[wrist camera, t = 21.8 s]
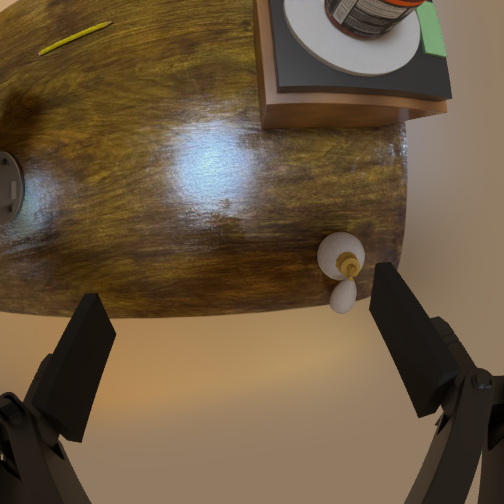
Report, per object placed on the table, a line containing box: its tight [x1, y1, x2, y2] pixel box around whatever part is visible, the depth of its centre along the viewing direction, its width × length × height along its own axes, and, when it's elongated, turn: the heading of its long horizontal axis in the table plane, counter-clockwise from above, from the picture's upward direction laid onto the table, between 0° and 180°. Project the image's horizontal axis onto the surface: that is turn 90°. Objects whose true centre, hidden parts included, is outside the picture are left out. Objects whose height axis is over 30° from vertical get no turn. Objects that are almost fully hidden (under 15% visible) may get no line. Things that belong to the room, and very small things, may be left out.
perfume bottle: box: [317, 232, 365, 314], centre depth 46 cm, size 8×10×12 cm
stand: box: [253, 0, 447, 129], centre depth 33 cm, size 18×16×22 cm
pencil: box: [39, 22, 112, 56], centre depth 40 cm, size 16×1×1 cm, turn 98°
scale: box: [268, 0, 452, 102], centre depth 20 cm, size 16×14×4 cm
